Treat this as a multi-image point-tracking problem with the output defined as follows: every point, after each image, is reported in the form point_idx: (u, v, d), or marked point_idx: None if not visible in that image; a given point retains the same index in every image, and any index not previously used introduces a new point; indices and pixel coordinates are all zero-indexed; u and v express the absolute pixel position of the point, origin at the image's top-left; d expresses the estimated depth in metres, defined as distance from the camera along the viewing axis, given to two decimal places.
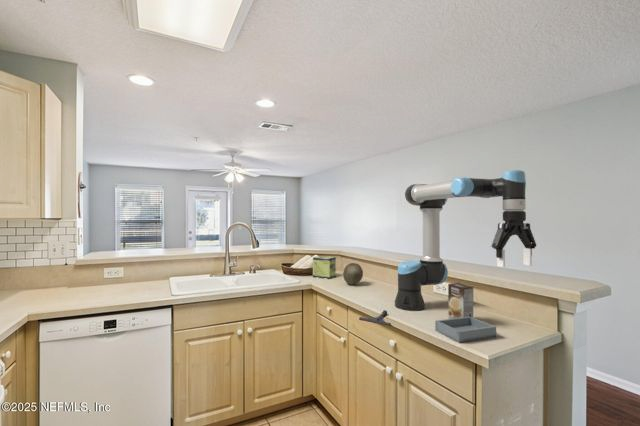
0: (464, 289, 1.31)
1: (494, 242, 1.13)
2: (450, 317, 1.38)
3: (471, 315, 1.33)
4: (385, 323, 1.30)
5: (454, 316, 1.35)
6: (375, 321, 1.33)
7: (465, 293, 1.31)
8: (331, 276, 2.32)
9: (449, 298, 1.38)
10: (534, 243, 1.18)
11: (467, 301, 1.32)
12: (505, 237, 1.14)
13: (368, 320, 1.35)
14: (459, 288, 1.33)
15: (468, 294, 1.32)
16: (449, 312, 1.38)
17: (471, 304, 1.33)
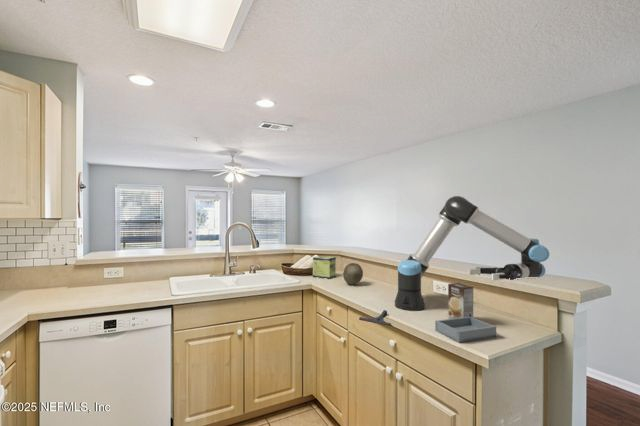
0: (464, 289, 1.31)
1: (514, 275, 1.33)
2: (450, 317, 1.38)
3: (471, 315, 1.33)
4: (385, 323, 1.30)
5: (454, 316, 1.35)
6: (375, 321, 1.33)
7: (465, 293, 1.31)
8: (331, 276, 2.32)
9: (449, 298, 1.38)
10: None
11: (467, 301, 1.32)
12: None
13: (368, 320, 1.35)
14: (459, 288, 1.33)
15: (468, 294, 1.32)
16: (449, 312, 1.38)
17: (471, 304, 1.33)
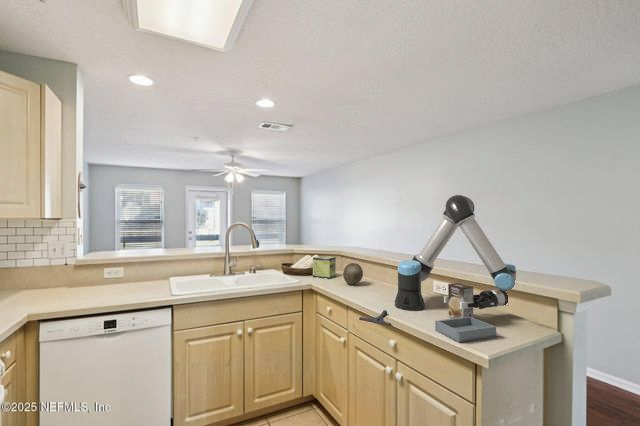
0: (464, 289, 1.31)
1: (483, 304, 1.30)
2: (450, 317, 1.38)
3: (471, 315, 1.33)
4: (385, 323, 1.30)
5: (454, 316, 1.35)
6: (375, 321, 1.33)
7: (465, 293, 1.31)
8: (331, 276, 2.32)
9: (449, 298, 1.38)
10: None
11: (467, 300, 1.32)
12: None
13: (368, 320, 1.35)
14: (459, 288, 1.33)
15: (468, 294, 1.32)
16: (449, 312, 1.38)
17: None
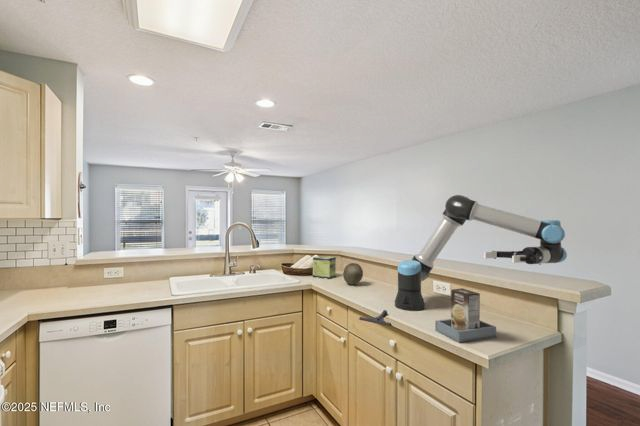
0: (469, 296, 1.16)
1: (536, 258, 1.20)
2: (453, 327, 1.22)
3: (477, 325, 1.17)
4: (385, 323, 1.31)
5: (458, 326, 1.20)
6: (375, 321, 1.33)
7: (471, 301, 1.16)
8: (331, 276, 2.32)
9: (452, 306, 1.23)
10: None
11: (473, 309, 1.16)
12: None
13: (368, 320, 1.35)
14: (463, 294, 1.17)
15: (474, 302, 1.16)
16: (452, 321, 1.23)
17: (477, 313, 1.17)
